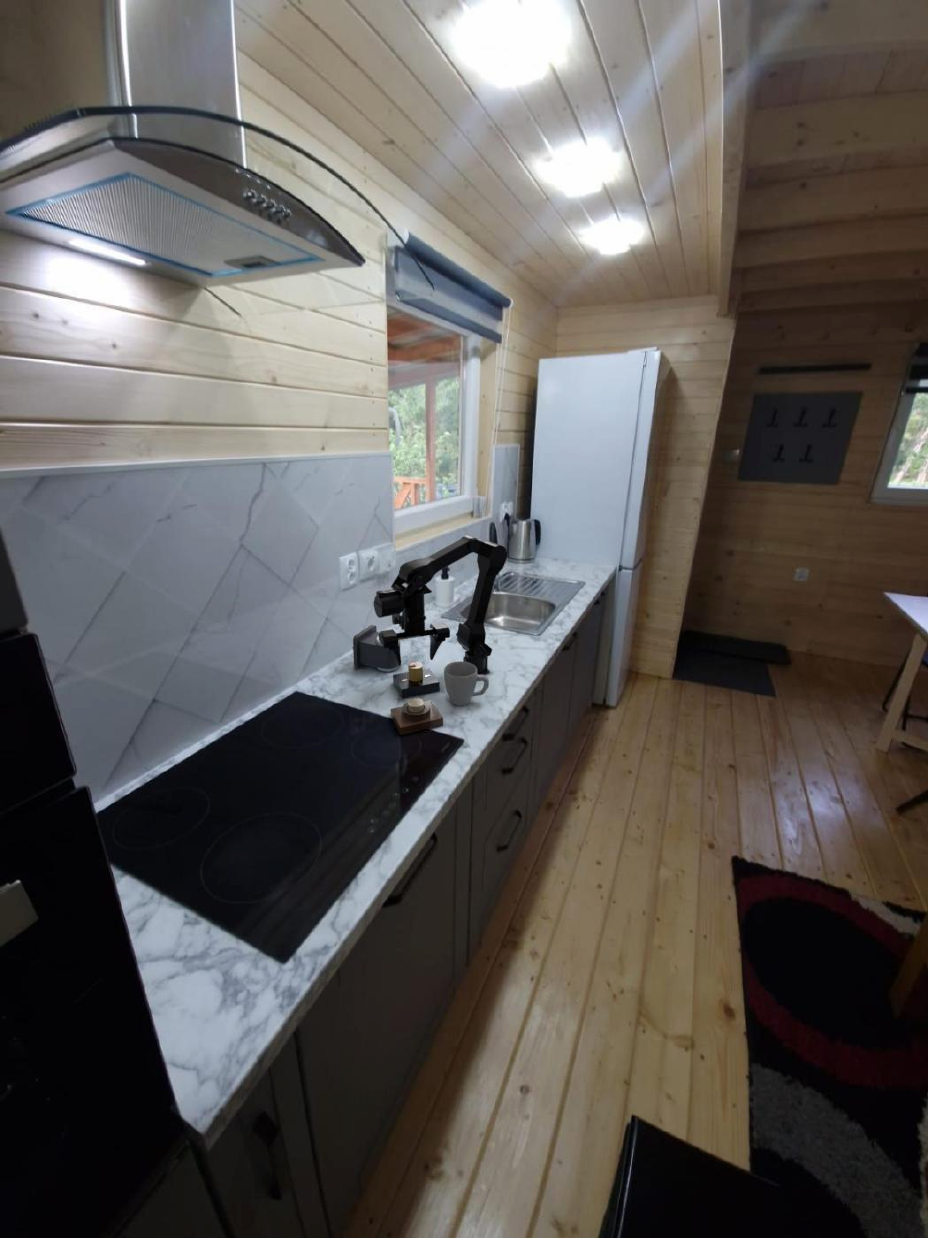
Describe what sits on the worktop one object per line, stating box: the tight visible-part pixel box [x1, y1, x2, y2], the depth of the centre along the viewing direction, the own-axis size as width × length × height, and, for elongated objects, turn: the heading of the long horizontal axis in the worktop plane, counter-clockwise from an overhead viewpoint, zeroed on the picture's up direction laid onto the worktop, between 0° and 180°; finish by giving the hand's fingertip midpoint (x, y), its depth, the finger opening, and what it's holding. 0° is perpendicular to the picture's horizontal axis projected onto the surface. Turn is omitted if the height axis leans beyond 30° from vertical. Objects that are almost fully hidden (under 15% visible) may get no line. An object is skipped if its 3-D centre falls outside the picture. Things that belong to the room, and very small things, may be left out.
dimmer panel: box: [392, 667, 441, 700], centre depth 140 cm, size 11×9×3 cm
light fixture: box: [352, 624, 401, 672], centre depth 151 cm, size 11×13×11 cm
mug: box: [443, 661, 490, 706], centre depth 133 cm, size 12×9×10 cm
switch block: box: [390, 700, 444, 736], centre depth 125 cm, size 11×9×4 cm
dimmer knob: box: [407, 661, 424, 682], centre depth 139 cm, size 4×4×4 cm
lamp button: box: [407, 697, 425, 712], centre depth 124 cm, size 4×4×2 cm
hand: (415, 662), depth 138 cm, fingers open, 9 cm apart
